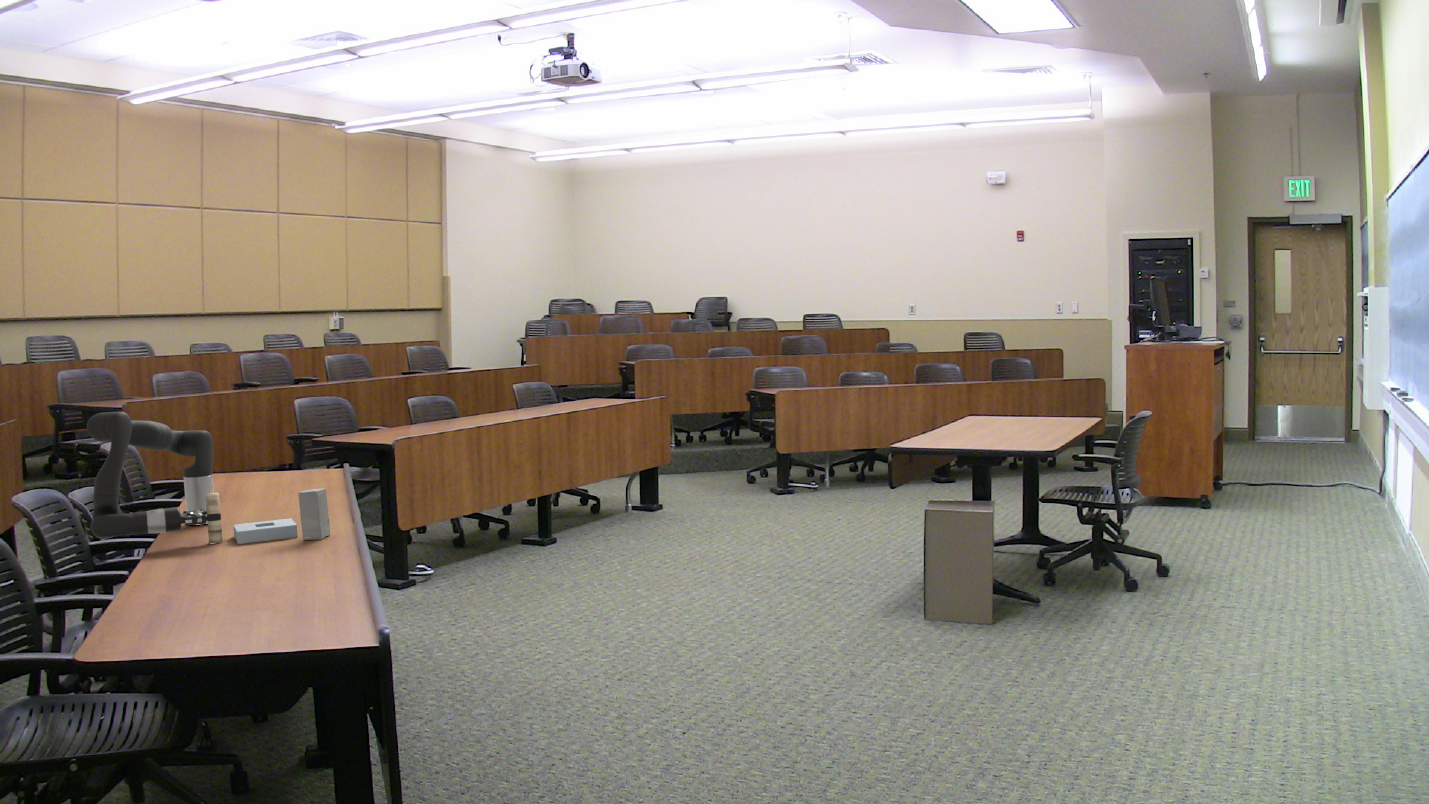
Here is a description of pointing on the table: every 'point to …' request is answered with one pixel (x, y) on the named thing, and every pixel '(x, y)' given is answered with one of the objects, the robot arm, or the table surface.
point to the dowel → (213, 526)
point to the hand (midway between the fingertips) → (219, 514)
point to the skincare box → (314, 514)
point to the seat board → (265, 531)
